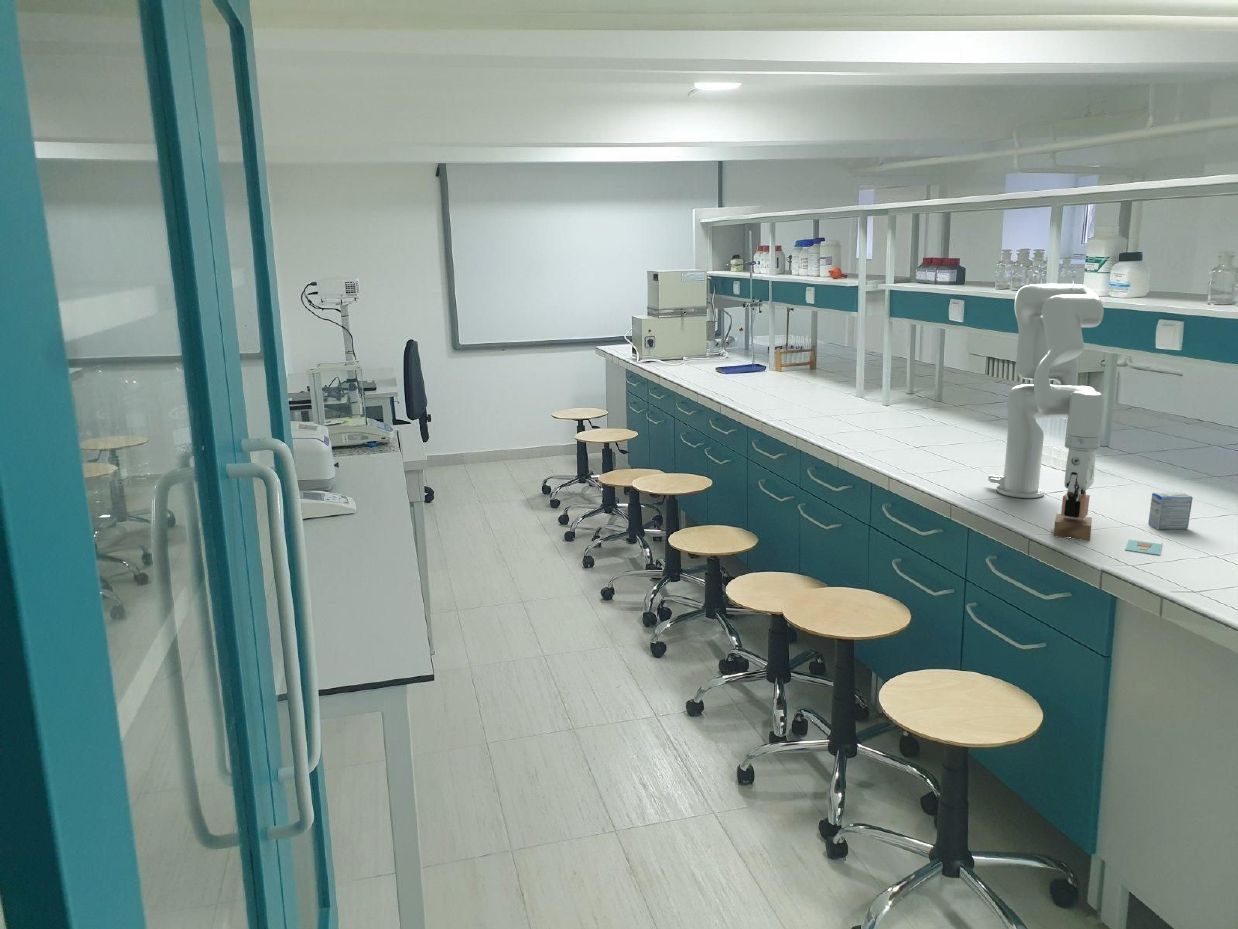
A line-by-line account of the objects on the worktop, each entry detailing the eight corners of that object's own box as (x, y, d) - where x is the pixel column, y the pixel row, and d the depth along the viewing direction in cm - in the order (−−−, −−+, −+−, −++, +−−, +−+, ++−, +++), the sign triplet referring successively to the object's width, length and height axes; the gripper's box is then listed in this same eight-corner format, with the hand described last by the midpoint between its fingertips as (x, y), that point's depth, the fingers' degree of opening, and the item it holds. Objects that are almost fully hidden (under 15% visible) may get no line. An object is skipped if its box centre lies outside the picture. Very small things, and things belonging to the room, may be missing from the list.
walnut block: (1053, 537, 226) (1055, 521, 225) (1055, 528, 233) (1056, 513, 232) (1089, 541, 222) (1091, 526, 221) (1090, 532, 229) (1091, 517, 228)
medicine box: (1177, 524, 235) (1182, 491, 233) (1188, 529, 230) (1193, 496, 228) (1147, 524, 235) (1151, 492, 232) (1157, 530, 230) (1162, 496, 228)
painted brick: (1060, 515, 226) (1063, 493, 225) (1065, 511, 230) (1068, 489, 229) (1082, 519, 223) (1085, 497, 222) (1087, 514, 227) (1090, 492, 226)
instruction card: (1125, 550, 215) (1125, 549, 215) (1128, 540, 222) (1128, 538, 222) (1159, 555, 211) (1159, 554, 211) (1161, 544, 219) (1162, 543, 219)
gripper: (1091, 450, 213) (1082, 524, 218) (1106, 437, 226) (1098, 508, 231) (1056, 446, 218) (1049, 519, 222) (1073, 434, 231) (1066, 503, 235)
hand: (1074, 513), depth 226 cm, fingers closed on painted brick, 5 cm apart
